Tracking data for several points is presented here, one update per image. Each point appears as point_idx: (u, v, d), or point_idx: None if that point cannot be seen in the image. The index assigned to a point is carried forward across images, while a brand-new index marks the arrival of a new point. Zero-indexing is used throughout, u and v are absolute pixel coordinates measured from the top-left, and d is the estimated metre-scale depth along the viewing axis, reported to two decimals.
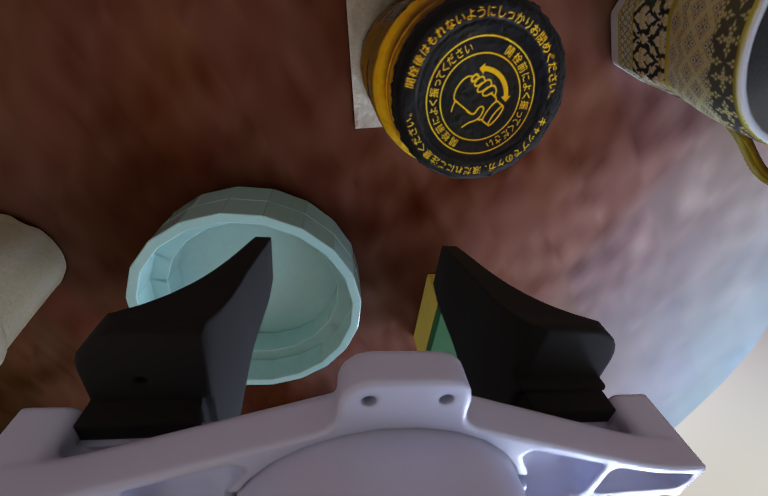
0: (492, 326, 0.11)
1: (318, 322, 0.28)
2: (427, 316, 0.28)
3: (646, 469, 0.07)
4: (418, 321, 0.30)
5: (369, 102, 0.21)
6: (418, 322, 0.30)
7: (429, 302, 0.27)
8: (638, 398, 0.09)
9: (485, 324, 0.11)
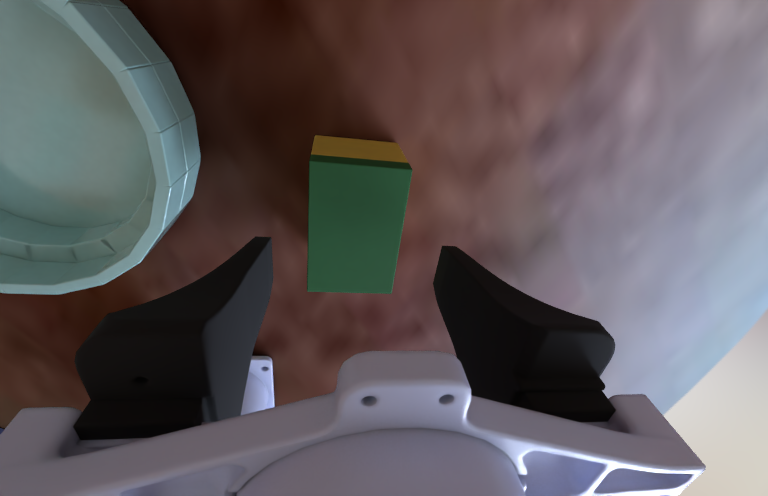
0: (492, 326, 0.11)
1: None
2: None
3: (646, 469, 0.07)
4: None
5: None
6: None
7: None
8: (638, 398, 0.09)
9: (485, 324, 0.11)
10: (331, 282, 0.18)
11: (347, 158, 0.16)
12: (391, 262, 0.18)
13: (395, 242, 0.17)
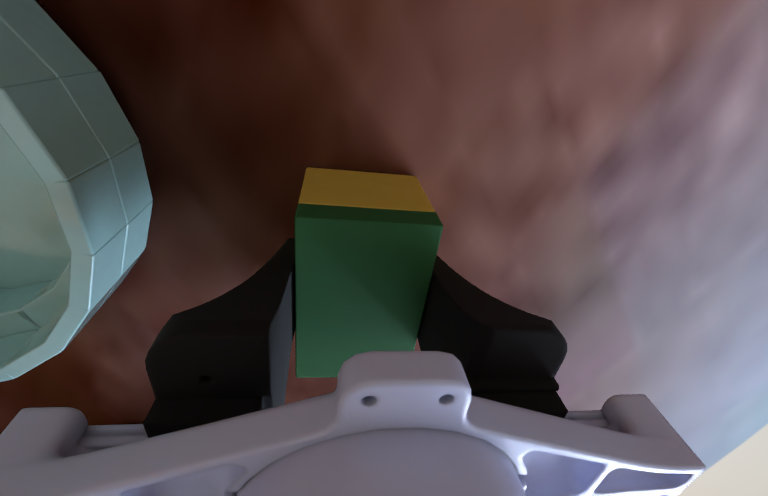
0: (449, 325, 0.10)
1: None
2: None
3: (646, 469, 0.07)
4: None
5: None
6: None
7: None
8: (638, 398, 0.09)
9: (444, 323, 0.11)
10: (328, 366, 0.14)
11: (350, 210, 0.11)
12: (409, 340, 0.13)
13: (415, 317, 0.13)
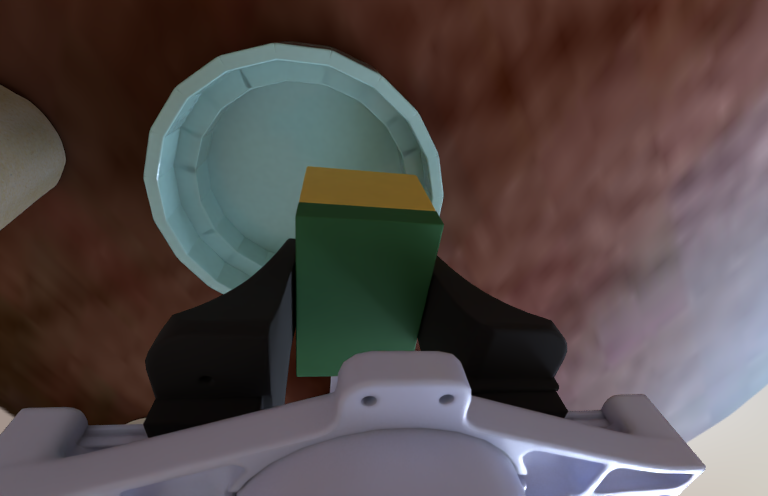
0: (449, 325, 0.10)
1: None
2: None
3: (646, 469, 0.07)
4: None
5: None
6: None
7: None
8: (638, 398, 0.09)
9: (444, 323, 0.11)
10: (328, 365, 0.14)
11: (351, 208, 0.11)
12: (410, 339, 0.13)
13: (416, 316, 0.13)
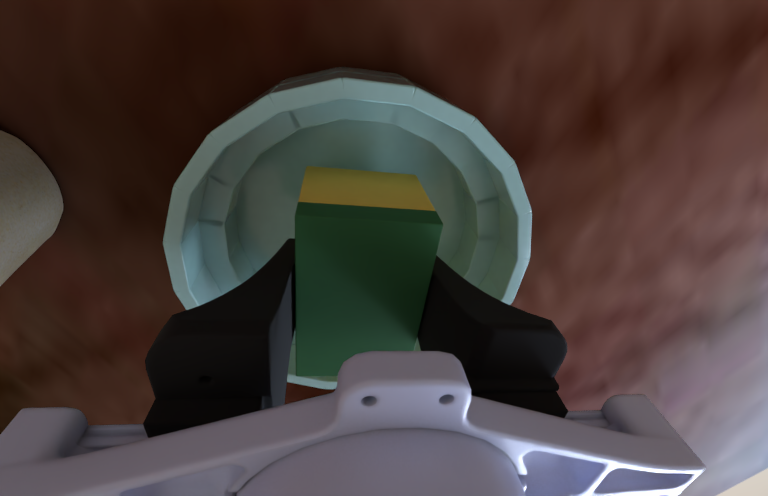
0: (449, 326, 0.10)
1: None
2: None
3: (646, 469, 0.07)
4: None
5: None
6: None
7: None
8: (638, 398, 0.09)
9: (444, 324, 0.11)
10: (328, 365, 0.14)
11: (350, 208, 0.11)
12: (409, 339, 0.13)
13: (416, 316, 0.13)
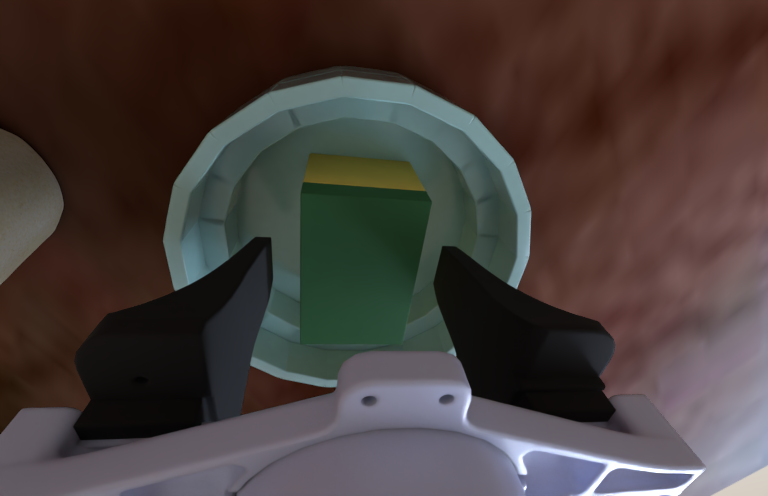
0: (492, 326, 0.11)
1: (429, 296, 0.19)
2: None
3: (646, 469, 0.07)
4: None
5: None
6: None
7: None
8: (638, 398, 0.09)
9: (485, 324, 0.11)
10: (329, 333, 0.15)
11: (349, 187, 0.12)
12: (403, 310, 0.15)
13: (408, 287, 0.14)
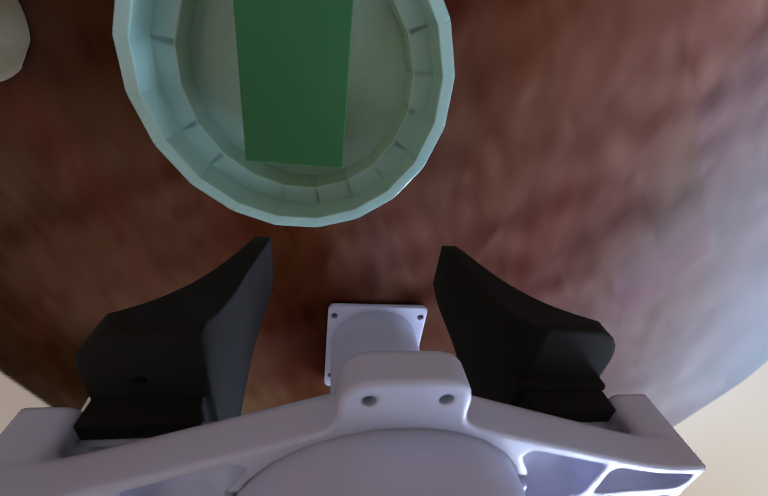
0: (492, 326, 0.11)
1: (377, 152, 0.21)
2: None
3: (646, 469, 0.07)
4: None
5: None
6: None
7: None
8: (638, 398, 0.09)
9: (485, 324, 0.11)
10: (272, 149, 0.16)
11: None
12: (339, 124, 0.16)
13: (341, 96, 0.15)
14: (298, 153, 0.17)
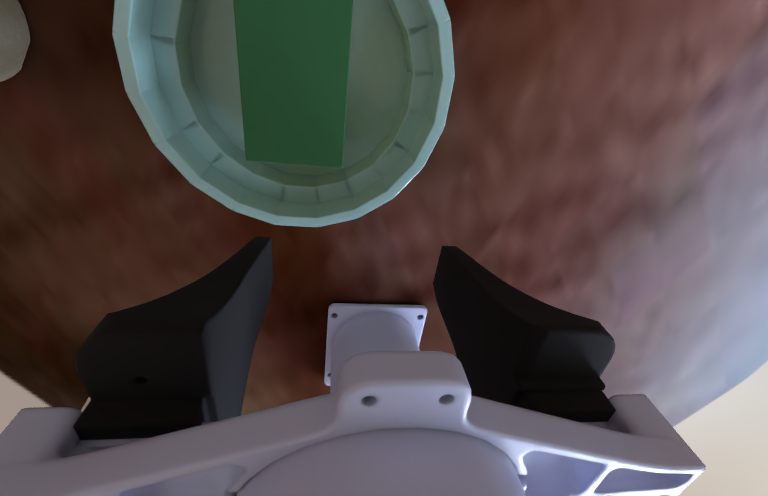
0: (492, 326, 0.11)
1: (377, 152, 0.21)
2: None
3: (646, 469, 0.07)
4: None
5: None
6: None
7: None
8: (638, 398, 0.09)
9: (485, 324, 0.11)
10: (272, 149, 0.16)
11: None
12: (339, 124, 0.16)
13: (341, 96, 0.15)
14: (298, 153, 0.17)
